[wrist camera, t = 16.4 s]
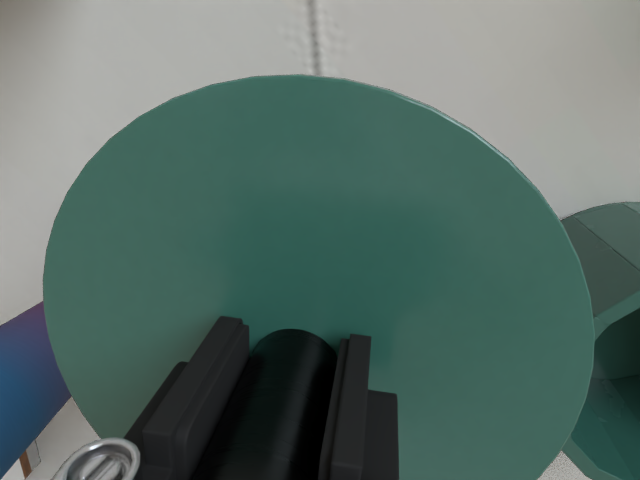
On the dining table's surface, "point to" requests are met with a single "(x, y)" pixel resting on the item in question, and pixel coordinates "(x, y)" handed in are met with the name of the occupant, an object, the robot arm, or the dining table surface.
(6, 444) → the cup
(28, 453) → the display case
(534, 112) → the dining table surface
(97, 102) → the dining table surface
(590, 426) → the pot
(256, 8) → the dining table surface
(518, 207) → the pot lid
